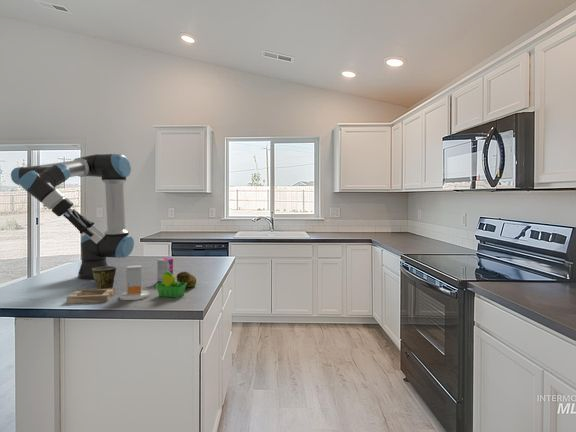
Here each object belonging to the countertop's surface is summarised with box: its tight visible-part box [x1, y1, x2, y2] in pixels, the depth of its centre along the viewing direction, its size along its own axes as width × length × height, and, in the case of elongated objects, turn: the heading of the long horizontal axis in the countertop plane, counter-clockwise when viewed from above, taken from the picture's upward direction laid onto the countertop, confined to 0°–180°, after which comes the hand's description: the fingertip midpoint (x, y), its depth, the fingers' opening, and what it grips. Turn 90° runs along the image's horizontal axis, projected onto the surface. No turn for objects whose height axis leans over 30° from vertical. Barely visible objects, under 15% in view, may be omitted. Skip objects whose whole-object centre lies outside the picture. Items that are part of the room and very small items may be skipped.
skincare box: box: [125, 264, 143, 295], centre depth 158 cm, size 6×4×12 cm
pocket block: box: [66, 288, 116, 305], centre depth 155 cm, size 12×15×2 cm
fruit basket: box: [155, 271, 187, 298], centre depth 159 cm, size 11×9×11 cm
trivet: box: [118, 289, 151, 301], centre depth 158 cm, size 12×12×1 cm
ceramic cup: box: [92, 265, 117, 289], centre depth 168 cm, size 13×10×10 cm
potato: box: [175, 271, 197, 288], centre depth 174 cm, size 8×13×8 cm, turn 151°
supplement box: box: [156, 257, 174, 284], centre depth 186 cm, size 6×6×12 cm
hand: (101, 239), depth 154 cm, fingers open, 13 cm apart
